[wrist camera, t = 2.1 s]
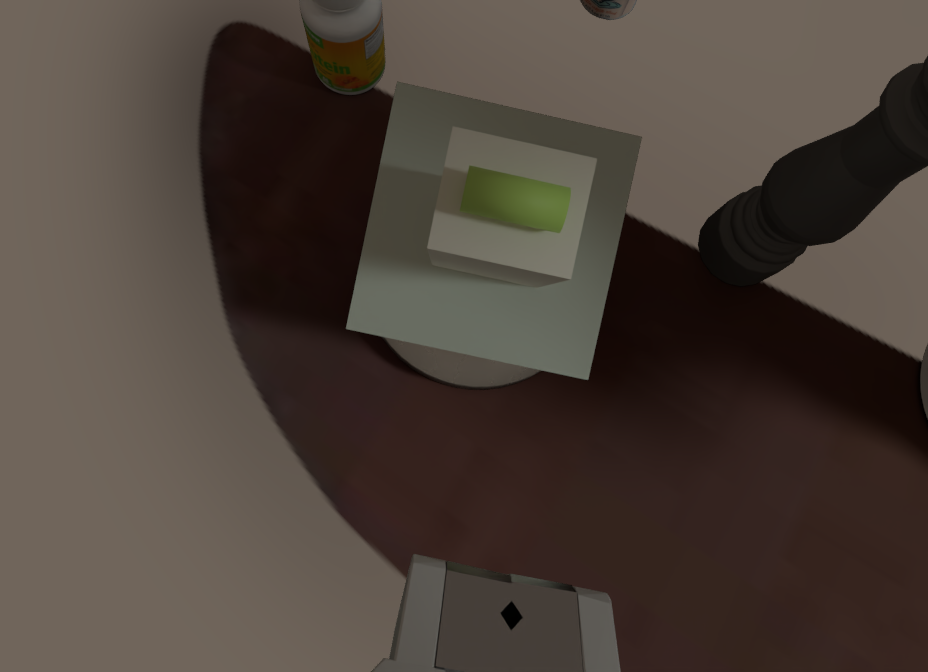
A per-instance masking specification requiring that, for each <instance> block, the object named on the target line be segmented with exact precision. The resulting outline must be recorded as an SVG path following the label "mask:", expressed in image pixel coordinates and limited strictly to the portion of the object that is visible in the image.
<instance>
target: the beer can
mask: <svg viewBox="0 0 928 672" xmlns="http://www.w3.org/2000/svg"><path fill="white" fill-rule="evenodd" d="M581 3H582V5H583V6H584V8H585V9H586V10H587V11H588V12H590V13H591V14H592V15H594V16H596V17H599V18H603V19H607V20H614V19H619V18H622V17H624V16H626V15H627V14H629V13H630V12H631V11H632V9H633V8H634V6H635V4H636V0H581Z"/></svg>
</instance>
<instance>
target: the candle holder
mask: <svg viewBox="0 0 928 672" xmlns="http://www.w3.org/2000/svg"><path fill="white" fill-rule="evenodd" d="M927 166H928V56H927V58H926V59H925V61H924V63H918V64H912V65H910V66H908V67H907V68H905V69H904V70H902V71H900V72H899V73H897V74H896V75H895V76H893V77H892V78H891V80H890V81H889V83H888V84H887V86H886V88H885V89H884V91H883V93H882V95H881V96H880V105H879V106H878V107H877V108H875V109H874V110H873V111H872V112H870V113H869V114H868V115H866V116H865V117H864V118H863V119H861V120H860V121H859V122H857V123H856V124H855V125H853V126H851V127H848V128H846V129H844V130H841V131H839V132H836V133H834V134H832V135H829V136H827V137H824V138H822V139H820V140H817V141H815V142H812V143H810V144H807V145H805V146H802V147H800V148H797V149H795V150H793V151H792V152H790V153H788V154H787V155H785V156H784V157H782V158H780V159H779V160H778V161H777V162H775V163H774V165H773V166H772V168H771V170H770V171H769V173H768V174H767V176H766V177H765V179H764V181H763V183H762V186H755V187H753V188H752V189H750V190H748V191H747V192H743V193H741V194H739V195H737V196H736V197H734V198H732V199H731V200H729V201H728V202H727V203H726V204H724V205H723V206H722V207H721V208H720V209H718V210H717V211H716V212H715V213H714V214H712V215H711V216H710V217H709V218H708V219H707V220H706V222H705V224H704V225H703V227H702V228H701V230H700V235H699V242H698V247H699V251H700V255H701V258H702V261H703V262H704V264H705V265H706V267H707V268H708V269H709V271H710V272H711V274H713V275H714V276H716V277H717V278H719V279H720V280H722V281H723V282H725V283H728V284H732V285H737V286H747V285H753V284H757V283H759V282H761V281H763V280H764V279H766V278H768V277H770V276H772V275H774V274H776V273H778V272H779V271H781V270H783V269H784V268H786V267H787V266H789V265H790V264H792V263H793V262H794V260H795V259H796V258H797V257H798V256H800V255H801V254H803V253H804V251H805V250H806V248H807V246H812V245H819V244H826V243H832V242H835V241H837V240H839V239H841V238H842V237H843V236H845V235H846V234H848V233H849V232H851V231H852V230H854V229H855V228H856V227H857V226H858V225H859V224H860V223H861V222H862V221H863V220H864V219H865V218H866V216H867V215H869V213H870V212H871V211H872V210H873V209H874V208H875V207H876V206H877V205H878V204H879V203H880V202H881V201H882V200H883V199H884V198H885V197H886V196H887V195H888V194H889V193H890V192H891V191H892V190H893V189H894V188H895V187H896V186H897V185H898V184H899V183H900V182H901V181H903V180H904V179H906V178H908V177H910V176H911V175H913V174H914V173H916V172H918V171H920V170H922V169H923V168H925V167H927Z"/></svg>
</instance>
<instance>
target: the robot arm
mask: <svg viewBox="0 0 928 672" xmlns="http://www.w3.org/2000/svg"><path fill="white" fill-rule="evenodd" d="M920 385H921V396H922V401H923V406H924V410H925V413H926V416H927V419H928V345H927V347H926V350H925V353H924V356H923V360H922V366H921V374H920ZM371 672H620V665H619V657H618V650H617V642H616V635H615V627H614V620H613V612H612V605H611V600H610V598H609V596H608V594H607V593H605V592H600V591H595V590H589V589H584V588H579V587H573V586H572V585H568V584H563V583H557V582H552V581H546V580H541V579H536V578H530V577H525V576H519V575H514V574H509V575H507V574H502V573H498V572H493V571H489V570H484V569H480V568H476V567H471V566H467V565H462V564H458V563H454V562H449V561H447V562H446V561H445V560H440V559H435V558H430V557H426V556H421V555H416V554H413V556H412V559H411V563H410V567H409V571H408V575H407V579H406V583H405V588H404V592H403V596H402V600H401V604H400V609H399V613H398V618H397V622H396V627H395V631H394V637H393V642H392V647H391V652H390V658H389V659H386V658H384V659H383V660H382V661H381V662H380V663H379V664H378V665H377V666H376V667H375V669H373V670H372V671H371Z"/></svg>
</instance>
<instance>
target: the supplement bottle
mask: <svg viewBox="0 0 928 672" xmlns="http://www.w3.org/2000/svg"><path fill="white" fill-rule="evenodd" d="M300 10H301V15H302V19H303V23H304V27H305V31H306V35H307V39H308V43H309V47H310V52H311V56H312V60H313V64H314V68H315V71H316V74H317V76H318V77H319V79H320V80H321V82H322V83H323V84H324V85H325V86H326V87H328V88H329V89H331V90H333V91H335V92H337V93H340V94H345V95H356V94H361V93H364V92H366V91H368V90H370V89H371V88H373V87H374V86H375V85H376V84H377V83H378V82H379V81H380V79H381V77H382V76H383V73H384V69H385V45H384V31H383V16H382V2H381V0H300Z"/></svg>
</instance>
